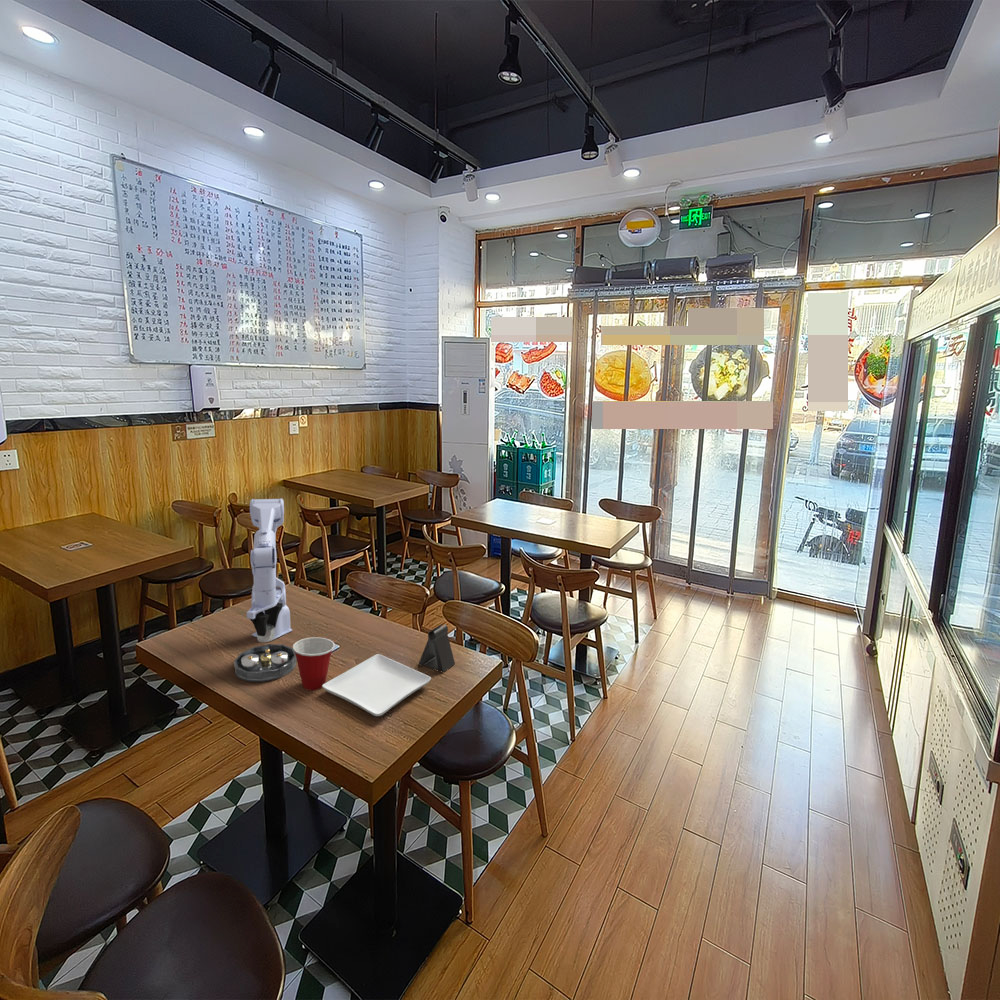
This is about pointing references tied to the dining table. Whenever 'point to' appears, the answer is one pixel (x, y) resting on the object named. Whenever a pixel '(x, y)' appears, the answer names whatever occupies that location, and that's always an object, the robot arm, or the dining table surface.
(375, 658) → the salad plate
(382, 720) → the dining table surface
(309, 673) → the plastic cup
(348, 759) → the dining table surface
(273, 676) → the carrier
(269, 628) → the octagonal tube
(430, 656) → the phone stand
